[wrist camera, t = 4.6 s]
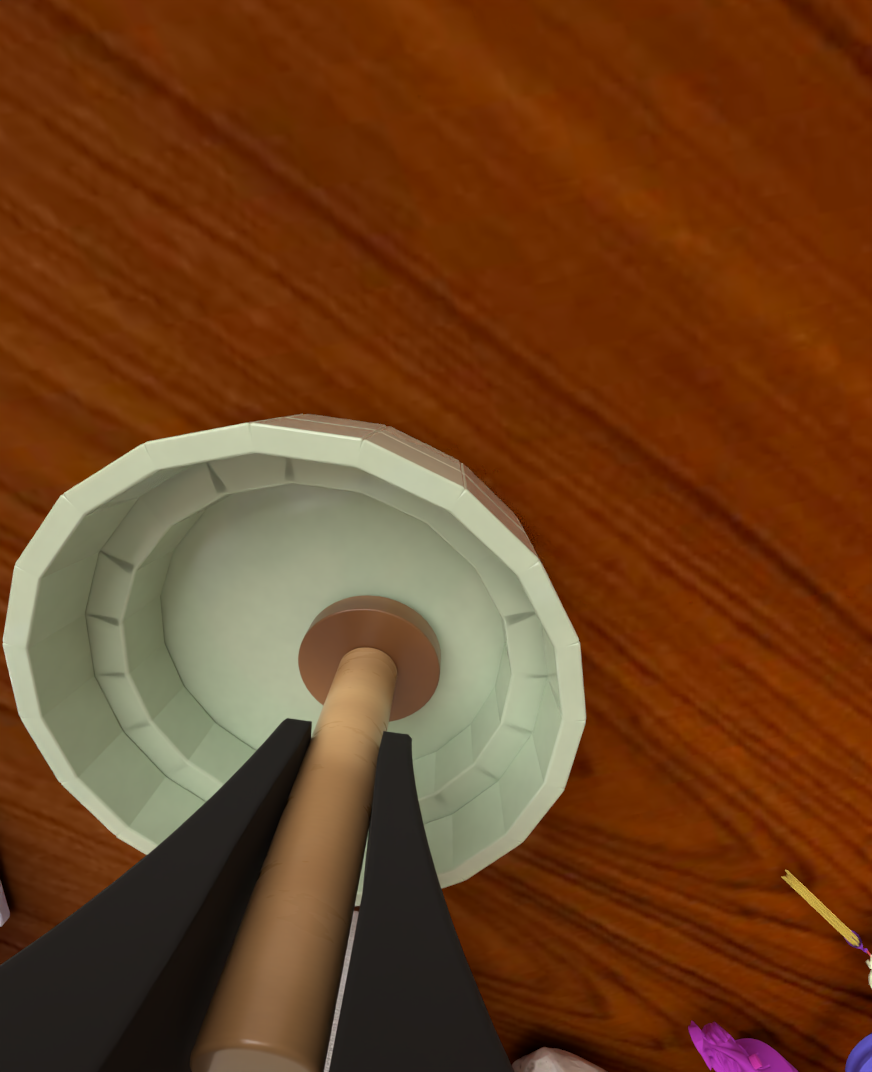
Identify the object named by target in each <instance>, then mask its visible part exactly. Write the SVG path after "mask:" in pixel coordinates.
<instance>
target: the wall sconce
mask: <svg viewBox="0 0 872 1072" xmlns="http://www.w3.org/2000/svg"><path fill="white" fill-rule="evenodd" d="M786 871H787V874H788V875H790V876H787V875H786V876H787V877H788V878H787V877H784V876H785V875H784V876H783V877H784V878H783V877H782V876H781V877H782V878H783V879H784V880H785V879H786V880H785V881H786V882H787V883H788V884H789V885H790V886H791V887H792V888H793V889H794V890H795V891H797V892H798V894H800V895H801V896H802V897H803V898H804V899H805V900H806V901H807V902H808V903H809V904H810V905H811V906H812V907H813V908H814V909H815V910H816V911H818V910H819V911H818V912H819V914H821V915H822V916H823V917H824V918H825V919H826V920H827V921H828V922H829V923H830V924H831V925H832V926H833V927H834V928H835V929H836V930H837V931H839V930H840V931H839V932H840V934H842V935H843V936H844V937H845V940H846V942H847V943H848V944H849V945H850V946H852V947H854V948H859V949H862V950H863V951H864V952H865V953H868V954H869V955H870V960H867V961H866V964H867V965H868V967H869V968H870V969H872V955H871V954H870V953H869V951H868V949H867V948H864V949H863V945H862V940H861V938H860V936H859V935H858V934H857V933H856V932H854V931H852V930H850V929H848V927H847V926H845V925H844V924H843V923H842V922H841V921H840V920H839V919H838V918H837V917H836V916H835V915H834V914H833V913H832V912H831V911H830V910H829V909H828V908H827V907H826V906H825V905H823V904H822V903H821V902H820V901H819V900H818V899H817V898H816V897H815V896H814V895H813V894H812V893H811V892H810V891H809V890H808V889H807V888H806V887H805V886H804V885H803V884H802V883H800V882H799V881H798V880H797V879H796V878H795V877H794V876H793V875H792V874H791V873H790V872H789V871H788V870H786V869H785V872H786ZM791 878H793V879H791ZM789 879H790V880H789ZM794 881H795V882H796V883H795V882H794ZM797 884H798V885H797ZM802 886H803V887H802ZM794 887H795V888H794ZM803 892H804V893H803ZM806 895H807V896H806ZM809 898H810V899H809ZM812 899H813V900H812ZM812 901H813V902H812ZM815 902H817V903H815ZM819 905H820V906H819ZM823 906H824V907H823ZM822 908H823V909H822ZM827 915H828V916H827ZM830 918H831V919H830ZM833 921H834V922H833ZM837 922H838V923H839V924H838V923H837ZM841 926H842V927H841ZM845 927H846V928H845ZM844 929H845V930H844ZM850 935H851V936H850ZM868 980H869V985H870V987H871V988H872V970H871V972H870V974H869V979H868ZM688 1029H689V1033H690V1036H691V1038H692V1041H693V1043H694V1045H695V1047H696V1048H697V1050H698V1051H699V1053H700V1054H701V1055H702V1057H703V1058H704V1060H705V1062H706V1064H707V1066H708V1067H709V1069H710V1070H711V1067H712V1068H714V1069H715V1071H716V1072H798V1071H797V1070H796V1069H795V1068H794V1067H793V1066H792V1065H791V1064H790V1063H789V1062H788V1061H787V1060H786V1059H785V1058H784V1057H782V1056H781V1055H780V1054H779V1053H778V1052H777V1051H776V1050H774V1049H773V1048H772V1047H770V1046H769V1045H768V1044H766V1043H764V1042H761V1041H759V1040H756V1039H752V1038H744V1039H738V1040H736V1041H735V1040H734V1039H733V1038H732V1037H731V1035H730V1034H729V1033H728V1032H727V1031H726V1030H724V1029H723V1028H722V1027H721V1026H719V1025H718V1024H717V1023H716V1022H713V1023H708V1024H707V1025H705V1026H704V1027H703V1028H702V1031H701V1030H700V1029H699V1027H698V1026H697V1025H696V1023H695V1022H694V1021H692V1020H691V1025H689V1026H688ZM845 1072H872V1033H870V1034H869V1035H867V1036H866V1037H865V1038H864V1039H862V1040H861V1041H860V1042H859V1043H858V1044H857V1045H856V1046H855V1047H854V1049H853V1050H852V1051H851V1053H850V1055H849V1057H848V1059H847V1062H846V1067H845Z"/></svg>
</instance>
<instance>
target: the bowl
mask: <svg viewBox="0 0 872 1072" xmlns="http://www.w3.org/2000/svg"><path fill="white" fill-rule="evenodd" d="M15 565H16V566H15V567H14V572H13V579H12V585H11V591H10V597H9V604H8V610H7V616H6V622H5V629H4V635H3V642H4V643H3V649H4V653H5V657H6V662H7V666H8V670H9V675H10V679H11V683H12V688H13V692H14V696H15V701H16V705H17V709H18V714H19V717H21V720H22V722H23V724H24V725H25V727H26V729H27V730H28V732H29V734H30V735H31V737H32V739H33V740H34V742H35V743H36V745H37V747H38V748H39V750H40V752H41V753H42V755H43V757H44V758H45V760H46V762H47V763H48V765H49V767H50V768H51V770H52V771H53V773H54V775H55V776H56V778H57V780H58V781H59V782H62V783H61V784H62V786H63V787H65V788H66V789H67V790H68V791H69V792H70V793H71V794H72V795H73V796H74V797H75V798H76V799H77V800H78V801H79V802H80V803H81V804H82V805H83V806H84V807H85V808H87V809H88V810H89V811H90V812H91V813H92V814H93V815H94V816H95V817H96V818H97V819H98V820H99V821H100V822H101V823H102V824H103V825H104V826H105V827H106V828H107V829H109V830H110V831H111V832H112V833H113V834H114V835H117V836H116V837H117V838H119V839H121V840H122V841H124V842H126V843H127V844H129V845H131V846H132V847H134V848H136V849H137V850H139V851H141V852H142V853H144V854H146V855H148V854H149V853H150V852H151V851H152V850H153V849H155V848H156V847H157V846H158V845H159V844H160V843H162V842H163V841H164V840H165V839H166V838H167V837H168V836H170V835H171V834H172V833H173V832H174V831H175V830H176V829H177V828H179V827H180V826H181V825H182V824H183V823H184V822H185V821H186V820H187V819H188V818H189V817H190V816H191V815H192V814H194V813H195V812H196V811H197V810H198V809H199V808H200V807H201V806H202V805H203V804H204V803H205V802H206V801H208V800H209V799H210V798H211V797H212V796H213V795H214V794H215V793H216V792H217V791H218V790H219V789H220V788H221V787H222V786H223V785H224V784H225V783H226V782H227V781H228V780H229V779H230V778H231V777H232V776H233V775H234V774H235V773H236V772H237V771H238V770H239V769H240V768H241V767H242V766H243V764H244V763H245V762H246V761H247V760H248V759H249V758H250V757H251V756H252V755H253V754H254V753H255V752H256V751H257V749H258V748H259V747H260V746H261V745H262V744H263V743H264V742H265V741H266V740H267V738H268V737H269V736H270V735H271V734H272V733H273V732H274V730H275V729H276V728H277V727H278V726H279V725H280V723H281V722H282V721H284V720H285V719H287V718H290V719H298V720H305V721H312V731H311V737H312V734H313V732H314V729H315V727H316V724H317V721H318V719H319V716H320V713H321V711H322V708H323V705H322V704H321V703H319V702H318V701H317V700H316V699H315V698H314V697H313V696H312V695H311V693H310V692H309V691H308V689H307V688H306V686H305V684H304V682H303V680H302V678H301V675H300V671H299V666H298V654H299V648H300V645H301V642H302V640H303V638H304V636H305V634H306V632H307V631H308V629H309V627H310V625H311V623H312V622H313V620H314V619H315V617H316V616H317V615H318V614H319V613H320V612H321V611H323V610H324V609H325V608H326V607H328V606H330V605H331V604H333V603H335V602H337V601H340V600H342V599H345V598H349V597H354V596H363V595H372V596H381V597H386V598H390V599H393V600H396V601H399V602H401V603H403V604H405V605H407V606H409V607H410V608H412V609H413V610H415V611H416V612H417V613H419V614H420V615H421V616H422V617H423V618H424V619H425V620H426V621H427V622H428V623H429V625H430V626H431V627H432V629H433V631H434V632H435V634H436V636H437V639H438V642H439V645H440V650H441V667H440V678H439V683H438V686H437V688H436V690H435V693H434V694H433V696H432V697H431V699H430V700H429V701H428V702H427V703H426V704H425V705H424V706H423V707H422V708H421V709H420V710H418V711H417V712H415V713H413V714H412V715H410V716H407V717H405V718H402V719H399V720H396V721H391V722H389V723H388V729H387V732H394V733H402V734H408V735H409V736H410V737H411V738H412V760H413V769H414V777H415V784H416V790H417V795H418V801H419V805H420V810H421V815H422V819H423V824H424V828H425V832H426V836H427V840H428V844H429V848H430V852H431V855H432V859H433V863H434V866H435V870H436V873H437V876H438V880H439V883H440V886H441V889H442V888H445V887H448V886H451V885H454V884H457V883H460V882H463V881H464V880H467V879H469V878H470V877H472V876H473V875H475V874H476V873H478V872H479V871H481V870H482V869H484V868H485V867H487V866H488V865H490V864H491V863H493V862H494V861H496V860H497V859H499V858H501V857H502V856H504V855H505V854H507V853H508V852H510V851H511V850H513V849H514V848H516V847H517V846H519V845H520V844H521V843H523V842H524V841H525V839H526V838H527V837H528V836H529V834H530V833H531V832H532V831H533V829H534V828H535V827H536V825H537V824H538V823H539V822H540V820H541V819H542V818H543V817H544V815H545V814H546V813H547V812H548V810H549V809H550V808H551V807H552V805H553V804H554V803H555V802H556V800H557V799H558V798H559V796H560V795H561V794H562V793H563V791H564V788H565V787H566V784H567V780H568V777H569V774H570V771H571V768H572V765H573V761H574V758H575V755H576V752H577V749H578V746H579V742H580V739H581V736H582V733H583V730H584V727H585V723H586V706H585V694H584V682H583V670H582V658H581V646H580V642H579V638H578V636H577V634H576V632H575V630H574V628H573V625H572V623H571V621H570V619H569V617H568V615H567V613H566V611H565V609H564V607H563V605H562V603H561V601H560V599H559V597H558V595H557V593H556V591H555V589H554V587H553V585H552V583H551V581H550V579H549V577H548V575H547V573H546V571H545V569H544V567H543V565H542V563H541V561H540V559H539V557H538V555H537V553H536V551H535V549H534V548H533V546H532V544H531V542H530V540H529V538H528V536H527V534H526V533H525V531H524V529H523V527H522V525H521V523H520V521H519V519H518V518H517V517H516V515H515V514H514V513H513V512H512V511H511V510H510V509H509V508H508V507H507V506H506V505H505V504H504V503H503V502H502V501H501V500H500V499H499V498H498V497H497V496H496V495H495V494H494V493H493V492H492V491H491V490H490V489H489V488H488V487H487V486H486V485H485V484H484V483H483V482H482V481H481V480H480V479H479V478H478V477H477V476H476V475H475V474H474V473H473V472H472V471H471V470H470V469H469V468H467V467H466V466H465V465H464V464H463V463H460V461H459V460H457V459H455V458H453V457H451V456H449V455H447V454H445V453H443V452H441V451H439V450H437V449H435V448H433V447H431V446H429V445H427V444H425V443H423V442H421V441H419V440H417V439H415V438H413V437H411V436H409V435H407V434H405V433H403V432H401V431H399V430H397V429H394V428H392V427H390V426H388V427H386V426H385V425H383V424H376V423H369V422H362V421H355V420H348V419H341V418H334V417H327V416H320V415H313V414H298V415H292V416H285V417H279V418H272V419H266V420H260V421H253V422H247V423H242V424H236V425H231V426H226V427H221V428H215V429H210V430H205V431H200V432H195V433H189V434H184V435H179V436H174V437H168V438H163V439H158V440H153V441H148V442H146V443H144V444H141V445H139V446H137V447H136V448H134V449H133V450H131V451H129V452H128V453H126V454H125V455H123V456H122V457H120V458H118V459H117V460H115V461H114V462H112V463H110V464H109V465H107V466H106V467H104V468H103V469H101V470H99V471H98V472H96V473H95V474H93V475H91V476H90V477H88V478H87V479H85V480H84V481H82V482H80V483H79V484H77V485H76V486H74V487H72V488H71V489H69V490H68V491H66V492H65V493H64V494H63V495H61V496H60V497H59V499H58V500H57V502H56V503H55V505H54V506H53V508H52V509H51V511H50V512H49V514H48V515H47V517H46V518H45V520H44V521H43V523H42V524H41V526H40V527H39V529H38V530H37V532H36V533H35V535H34V537H33V538H32V540H31V541H30V543H29V544H28V546H27V547H26V549H25V550H24V552H23V553H22V555H21V556H20V558H19V559H18V561H17V562H16V564H15ZM368 833H369V831H368ZM367 841H368V837H367ZM366 851H367V842H366V847H365V853H364V858H363V864H362V869H361V874H360V880H359V885H358V891H357V896H356V901H355V906H360V903H361V898H362V892H363V882H364V871H365V861H366Z"/></svg>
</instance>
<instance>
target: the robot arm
mask: <svg viewBox="0 0 872 1072" xmlns="http://www.w3.org/2000/svg"><path fill="white" fill-rule="evenodd" d="M311 731H312V721H305V720H298V719H290V718H287V719H285V720H284V721H282V722H281V723H280V725H279V726H278V727H277V728H276V729H275V730H274V732H273V733H272V734H271V735H270V736H269V737H268V738H267V740H266V741H265V742H264V743H263V744H262V745H261V746H260V747H259V748H258V749H257V751H256V752H255V753H254V754H253V755H252V756H251V757H250V758H249V759H248V760H247V761H246V762H245V763H244V764H243V766H242V767H241V768H240V769H239V770H238V771H237V772H236V773H235V774H234V775H233V776H232V777H231V778H230V779H229V780H228V781H227V782H226V783H225V784H224V785H223V786H222V787H221V788H220V789H219V790H218V791H217V792H216V793H215V794H214V795H213V796H212V797H211V798H210V799H209V800H208V801H206V802H205V803H204V804H203V805H202V806H201V807H200V808H199V809H198V810H197V811H196V812H195V813H194V814H192V815H191V816H190V817H189V818H188V819H187V820H186V821H185V822H184V823H183V824H182V825H181V826H180V827H179V828H177V829H176V830H175V831H174V832H173V833H172V834H171V835H170V836H168V837H167V838H166V839H165V840H164V841H163V842H162V843H160V844H159V845H158V846H157V847H156V848H155V849H153V850H152V851H151V852H150V853H149V854H148V855H146V856H145V857H144V858H143V859H142V860H140V861H139V862H138V863H137V864H135V865H134V866H133V867H132V868H131V869H129V870H128V871H127V872H126V873H125V874H123V875H122V876H121V877H120V878H118V879H117V880H116V881H115V882H113V883H112V884H111V885H109V886H108V887H107V888H105V889H104V890H103V891H102V892H100V893H99V894H98V895H96V896H95V897H94V898H93V899H91V900H90V901H89V902H87V903H86V904H85V905H84V906H82V907H81V908H80V909H78V910H77V911H76V912H74V913H73V914H72V915H70V916H69V917H68V918H66V919H65V920H64V921H62V922H61V923H60V924H58V925H57V926H55V927H54V928H53V929H51V930H50V931H49V932H47V933H46V934H44V935H43V936H41V937H40V938H39V939H37V940H36V941H34V942H33V943H31V944H30V945H29V946H27V947H26V948H24V949H23V950H21V951H20V952H18V953H17V954H16V955H14V956H13V957H11V958H10V959H8V960H7V961H6V962H4V963H3V964H1V965H0V1072H192V1071H191V1069H190V1055H191V1052H192V1049H193V1047H194V1044H195V1041H196V1039H197V1036H198V1034H199V1031H200V1028H201V1026H202V1023H203V1020H204V1018H205V1015H206V1013H207V1010H208V1007H209V1005H210V1002H211V999H212V997H213V994H214V992H215V989H216V986H217V984H218V981H219V978H220V976H221V973H222V971H223V968H224V965H225V963H226V960H227V957H228V955H229V952H230V950H231V947H232V944H233V942H234V939H235V936H236V934H237V931H238V929H239V926H240V923H241V921H242V918H243V915H244V913H245V910H246V908H247V905H248V902H249V900H250V897H251V894H252V892H253V889H254V887H255V884H256V881H257V879H258V876H259V873H260V871H261V868H262V866H263V863H264V860H265V858H266V855H267V852H268V850H269V847H270V845H271V842H272V839H273V837H274V834H275V832H276V829H277V826H278V824H279V821H280V818H281V816H282V813H283V811H284V808H285V805H286V803H287V800H288V797H289V795H290V792H291V790H292V787H293V785H294V782H295V780H296V777H297V775H298V772H299V769H300V767H301V764H302V761H303V759H304V756H305V753H306V751H307V748H308V746H309V743H310V740H311ZM9 917H10V911H9V907H8V904H7V901H6V897H5V894H4V891H3V887H2V884H1V880H0V927H1V926H2V925H3V924H4V923H5V922H6V921H7V920H8V918H9ZM329 1072H514V1070H513V1068H512V1065H511V1063H510V1061H509V1059H508V1057H507V1054H506V1052H505V1050H504V1048H503V1045H502V1043H501V1041H500V1039H499V1037H498V1034H497V1032H496V1030H495V1028H494V1026H493V1023H492V1021H491V1018H490V1016H489V1014H488V1011H487V1009H486V1006H485V1004H484V1001H483V999H482V997H481V994H480V992H479V989H478V987H477V984H476V982H475V980H474V977H473V975H472V972H471V970H470V968H469V965H468V963H467V960H466V958H465V955H464V952H463V950H462V947H461V944H460V942H459V939H458V936H457V933H456V931H455V928H454V925H453V922H452V919H451V916H450V914H449V911H448V908H447V905H446V902H445V899H444V896H443V893H442V889H441V886H440V883H439V880H438V876H437V873H436V870H435V866H434V863H433V859H432V855H431V852H430V848H429V844H428V840H427V836H426V832H425V828H424V824H423V819H422V815H421V810H420V805H419V801H418V795H417V790H416V784H415V777H414V769H413V760H412V738H411V737H410V736H409V735H408V734H402V733H394V732H387V731H383V735H382V739H381V744H380V748H379V753H378V757H377V766H376V774H375V782H374V791H373V801H372V811H371V820H370V826H369V833H368V841H367V851H366V861H365V871H364V882H363V892H362V898H361V903H360V909H359V914H358V919H357V925H356V930H355V935H354V941H353V946H352V952H351V957H350V962H349V968H348V973H347V978H346V984H345V989H344V994H343V999H342V1005H341V1010H340V1015H339V1020H338V1026H337V1031H336V1036H335V1041H334V1047H333V1052H332V1057H331V1062H330V1068H329Z"/></svg>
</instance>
